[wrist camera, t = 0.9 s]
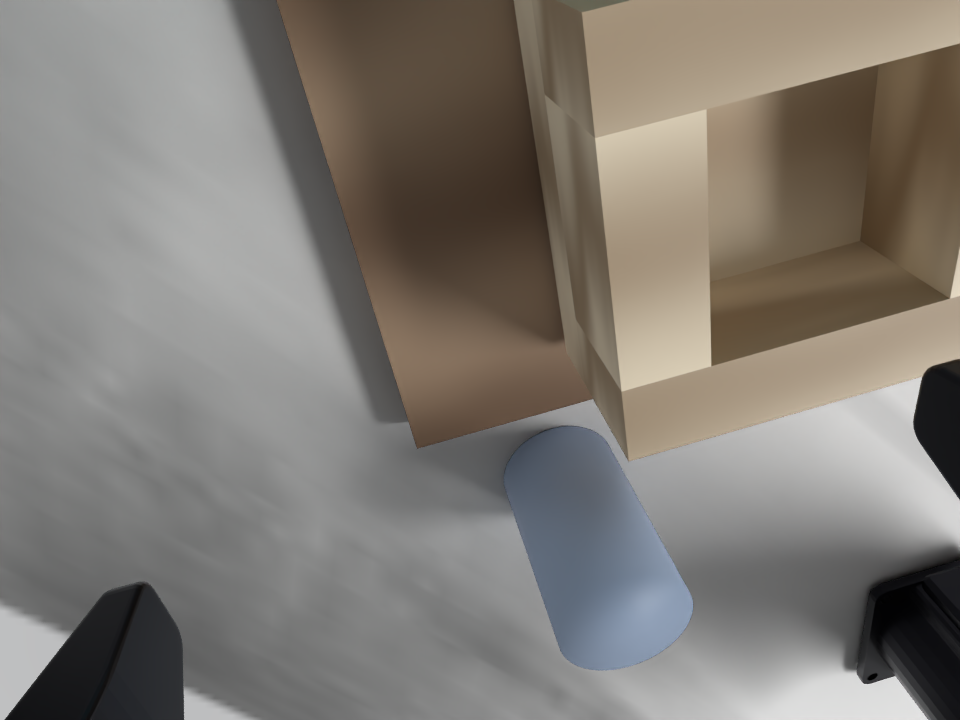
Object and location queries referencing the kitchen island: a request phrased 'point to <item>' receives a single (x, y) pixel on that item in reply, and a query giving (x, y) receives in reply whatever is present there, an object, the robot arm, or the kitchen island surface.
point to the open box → (746, 202)
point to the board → (441, 202)
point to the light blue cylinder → (594, 551)
